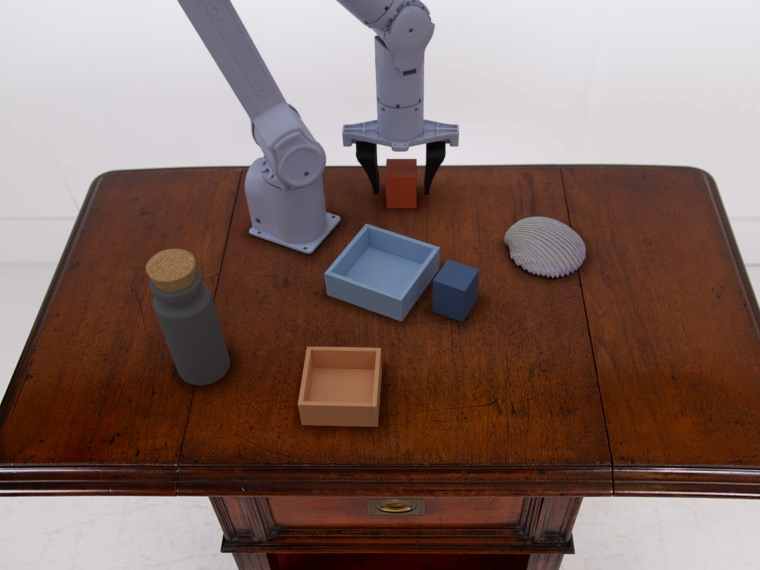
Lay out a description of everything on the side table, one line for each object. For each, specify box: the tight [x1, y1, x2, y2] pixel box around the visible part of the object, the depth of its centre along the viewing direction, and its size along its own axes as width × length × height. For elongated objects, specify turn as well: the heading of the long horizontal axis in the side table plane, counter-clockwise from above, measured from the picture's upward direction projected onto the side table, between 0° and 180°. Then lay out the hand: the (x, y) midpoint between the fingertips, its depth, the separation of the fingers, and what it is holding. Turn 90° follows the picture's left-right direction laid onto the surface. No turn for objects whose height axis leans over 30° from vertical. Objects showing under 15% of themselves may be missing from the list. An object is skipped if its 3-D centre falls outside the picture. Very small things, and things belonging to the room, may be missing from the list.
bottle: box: [145, 248, 231, 387], centre depth 79 cm, size 6×6×15 cm
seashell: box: [503, 216, 587, 279], centre depth 94 cm, size 10×6×10 cm
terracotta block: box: [385, 158, 418, 209], centre depth 101 cm, size 4×4×5 cm
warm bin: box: [297, 346, 383, 428], centre depth 80 cm, size 8×8×4 cm
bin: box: [323, 223, 441, 323], centre depth 91 cm, size 10×10×4 cm
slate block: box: [431, 258, 480, 323], centre depth 88 cm, size 4×4×5 cm
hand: (401, 190), depth 101 cm, fingers open, 6 cm apart
